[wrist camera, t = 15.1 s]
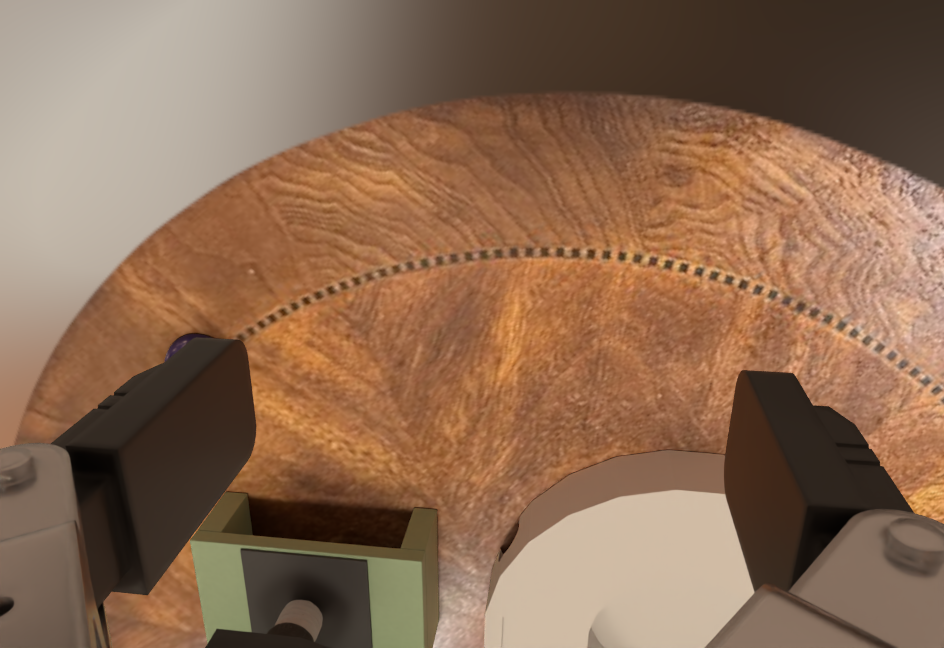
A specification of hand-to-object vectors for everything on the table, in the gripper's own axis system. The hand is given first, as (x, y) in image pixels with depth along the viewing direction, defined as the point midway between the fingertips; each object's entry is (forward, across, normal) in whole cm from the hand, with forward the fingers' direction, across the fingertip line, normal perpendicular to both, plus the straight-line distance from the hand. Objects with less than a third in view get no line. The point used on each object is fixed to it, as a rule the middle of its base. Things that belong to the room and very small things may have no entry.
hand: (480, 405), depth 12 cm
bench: (+28, +13, +28) cm, 41 cm away
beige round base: (+28, -9, +29) cm, 42 cm away
